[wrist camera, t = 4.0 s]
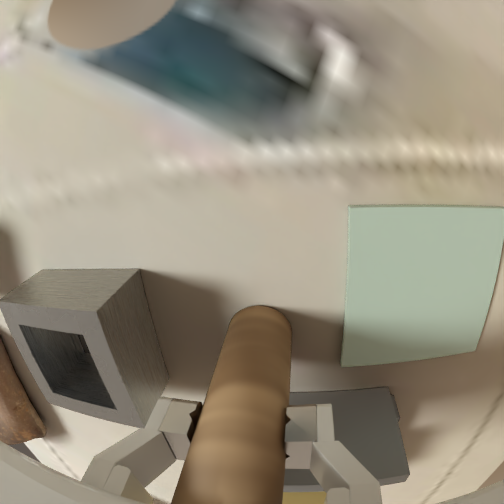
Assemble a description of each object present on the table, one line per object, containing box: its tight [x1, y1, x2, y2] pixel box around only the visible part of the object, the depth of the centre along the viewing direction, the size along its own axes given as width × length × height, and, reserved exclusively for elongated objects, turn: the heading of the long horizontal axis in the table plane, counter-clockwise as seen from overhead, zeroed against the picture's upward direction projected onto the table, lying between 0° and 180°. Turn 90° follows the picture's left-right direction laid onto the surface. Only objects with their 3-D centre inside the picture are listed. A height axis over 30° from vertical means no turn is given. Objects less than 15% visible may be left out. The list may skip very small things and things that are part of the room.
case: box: [283, 387, 410, 492], centre depth 15 cm, size 11×9×6 cm
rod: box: [171, 306, 292, 504], centre depth 10 cm, size 3×3×10 cm
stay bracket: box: [0, 269, 169, 428], centre depth 14 cm, size 7×7×4 cm
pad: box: [340, 205, 504, 367], centre depth 13 cm, size 8×8×1 cm
